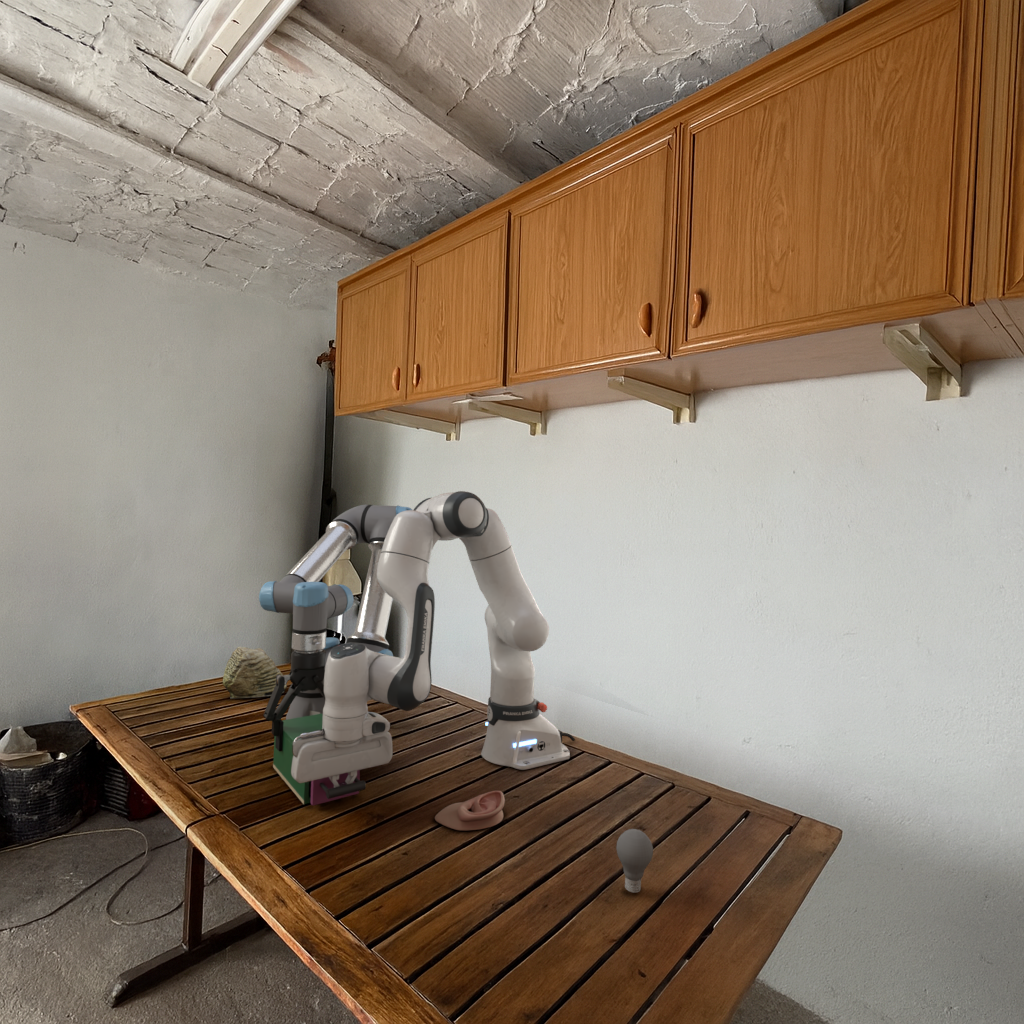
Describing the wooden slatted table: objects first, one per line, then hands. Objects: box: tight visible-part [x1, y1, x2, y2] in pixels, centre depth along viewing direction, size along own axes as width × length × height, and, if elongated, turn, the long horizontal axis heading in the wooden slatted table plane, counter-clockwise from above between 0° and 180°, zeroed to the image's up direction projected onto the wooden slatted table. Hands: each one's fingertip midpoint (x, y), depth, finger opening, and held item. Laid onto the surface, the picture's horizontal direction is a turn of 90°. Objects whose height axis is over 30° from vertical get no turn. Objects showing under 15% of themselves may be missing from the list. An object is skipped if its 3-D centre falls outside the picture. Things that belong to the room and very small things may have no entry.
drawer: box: [309, 770, 367, 806], centre depth 136 cm, size 26×10×9 cm, turn 37°
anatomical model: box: [434, 790, 506, 831], centre depth 128 cm, size 13×4×12 cm
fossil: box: [222, 646, 288, 699], centre depth 198 cm, size 9×18×15 cm, turn 132°
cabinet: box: [272, 714, 323, 805], centre depth 142 cm, size 21×11×11 cm, turn 37°
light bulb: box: [615, 828, 654, 894], centre depth 106 cm, size 6×6×10 cm
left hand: (305, 743), depth 146 cm, fingers closed on cabinet, 11 cm apart
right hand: (342, 793), depth 128 cm, fingers closed, pressing on drawer
